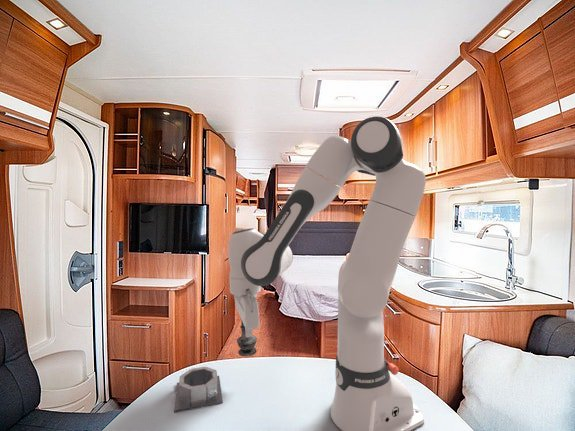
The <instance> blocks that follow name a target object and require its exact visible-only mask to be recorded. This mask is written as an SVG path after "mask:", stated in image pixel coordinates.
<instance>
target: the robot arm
mask: <svg viewBox="0 0 575 431" xmlns="http://www.w3.org/2000/svg"><path fill="white" fill-rule="evenodd" d="M355 172H358V173H361V174H366V175H370V176H375V185H374V187H373V191H372V193H371V196H370V198H369V201H368V203H367V206H366V208H365V210H364V213H363V215H362V217H361V220H360V222H359V225H358V228H357V230H356V233H355V237H354V239H353V243H352V245H351V248H350V251H349V254H348V257H347V259H346V260H344V261H343V263H342V264H341V265H340V267H339V271H338V276H337V277H338V281H337V291H338V292H337V293H338V295H337V296H338V298H337V301H338V302H337V303H338V304H337V306H338V308H337V355H336V356H335V369H334V370H335V390H334V396H333V400H332V401H333V402H332V404H331V407H330V410H329V411H330V418H331V419H332V422H334V424H335V426H336V427H338V428H339V429H340V430H341V431H413V430H414V429H417V428H418V427H420V426H422V425H423V424H424V423H425V420H424V415H423V413H422V412H421V410H420V408H419V407H418V406H417V405H416V404H415V403H414V401H413V397H412V395H411V392H410V390H409V389H408V388H407V386H406V385H405V384H404V383H403V382H401V381H400V379H398V378H397V377H396V375H398V373H399V371H400V370H399V367H398V366H397V365H395V364H394V362H393V363H392V362H389V361H388V360H387V359H386V358H385V357H384V356H385V328H384V327H385V326H384V325H385V324H384V315H383V313H384V310H385V308H386V306H387V303H388V300H389V295H390V292H391V288H392V286H393V282H394V279H395V277H396V276H395V275H396V272H397V270H398V269H397V268H398V265H399V261H400V256H401V254H402V250H403V247H404V245H405V243H406V240H407V238H408V235H409V234H410V231H411V228H412V226H413V224H414V221H415V218H416V217H417V214H418V212H419V209H420V206H421V203H422V199H423V196H424V191H425V188H426V187H425V186H426V182H427V179H426V178H427V177H426V175H425V174H426V173H424V171H423V170H422V169H421V168H420V167H418V166H417V165H415V164H413V163H410V162H407V161H405V160H404V151H403V141H402V138H401V134H400V132H399V129H398V128H397V126H396V124H395V123H393V121H391V120H390V119H388V118H387V117H384V116H371V117H367V118H365V119H363V120H362V121H360V122H359V123H358V124H357V125H356V126H355V127H354V130H353V132H352V134H351V138H350V139H348V138H345V137H343V136H340V135H332V136H328V137H327V138H326V139H324V141H323V142H322V143H321V145H320V146H319V147H318V148H317V149H316V150H315V151H314V153H313V154H312V156H310V159H309V160H308V161H307V163H306V165H305V166H304V168H303V169H302V171H301V173H300V175H299V177H298V178H297V181H296V183H295V185H294V187H293V189H292V191H291V192H290V194H289V196H288V197H287V200H286V202H285V203H284V205H283V207H282V208H281V209H280V210H279V211H278V214H277V215H276V217H274V220H273V221H272V222H271V224H270V226H269V227H268V229H267V230H266V232H265V233H264V234H262V233H261V232H259V231H258V230H257V228H252V227H251V228H245V229H241V230H237V231H234V232H232V233H231V234H230V237H229V241H228V263H229V267H230V270H229V273H228V278H229V279H228V280H229V293H230V294H231V295H233V299H234V304H235V307H236V310H237V312H238V314H239V317H240V320H241V319H242V322H243V324H244V326H245V336H246V337H247V338H248V337H251V336H252V334H253V331H254V330H256V329H257V330H258V329H259V328H260V310H259V302H258V299H257V296H258V294H259V293H260V292H261V290H262V287H266V286H269V285H271V284H272V283H273V282H275V280H277V278H278V277H279V276H280V275H282V274H283V273H284V272H285V271H286V270H287V269H289V267H290V266H291V265H292V263H293V259H294V253H293V250H292V248H291V247H290V244H291V242H292V241H293V239H294V238H295V236H296V235H297V233H298V232H299V230H300V229H301V228H302V226H303V225H304V224H305V223H306V222H307V221H309V219H311V218H312V217H314V216H315V215H317V214H318V213H320V212H322V211H323V210H325V209H326V208H327V207H328V206H329V205H330V204H331V203H332V202H333V201H334V200H335V198H336V197H337V196H338V194H339V193H340V191H341V189H342V188H343V186H344V185H345V184H346V182H347V180H348V179H349V178H350V177H351V175H352V174H353V173H355Z"/></svg>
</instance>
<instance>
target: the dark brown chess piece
mask: <svg viewBox="0 0 575 431" xmlns="http://www.w3.org/2000/svg"><path fill="white" fill-rule="evenodd" d="M240 320H241V323H240V324H241V325H240V331H241V335H240V336H239V337H238V338H237V339H236V343H237V345H238V347H239V350H238V355H239V356H241V357H251V356H253V355H255V354H256V353H257V352H258V349H257V348H256V345H257V341H258V337H257V336H255V335H253V333H252V336H251V337H248V338H247V337H246V336H245V326H244V324H243V322H242V319H241V318H240Z"/></svg>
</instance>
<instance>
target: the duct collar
mask: <svg viewBox="0 0 575 431" xmlns="http://www.w3.org/2000/svg"><path fill="white" fill-rule="evenodd" d="M223 403H224V402H223V393H222V387H221V380H220V375H218V372H217V369H215V368H211V367H207V366H200V367H193V368H191V369H189V370H187V371H186V372H184V373H183V374H181V375H180V376H179V380H178V382H176V388H175V398H174V408H173V413H180V412H185V411H189V410H195V409H200V408H205V407H210V406H214V405H215V406H216V405H220V404H223Z"/></svg>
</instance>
